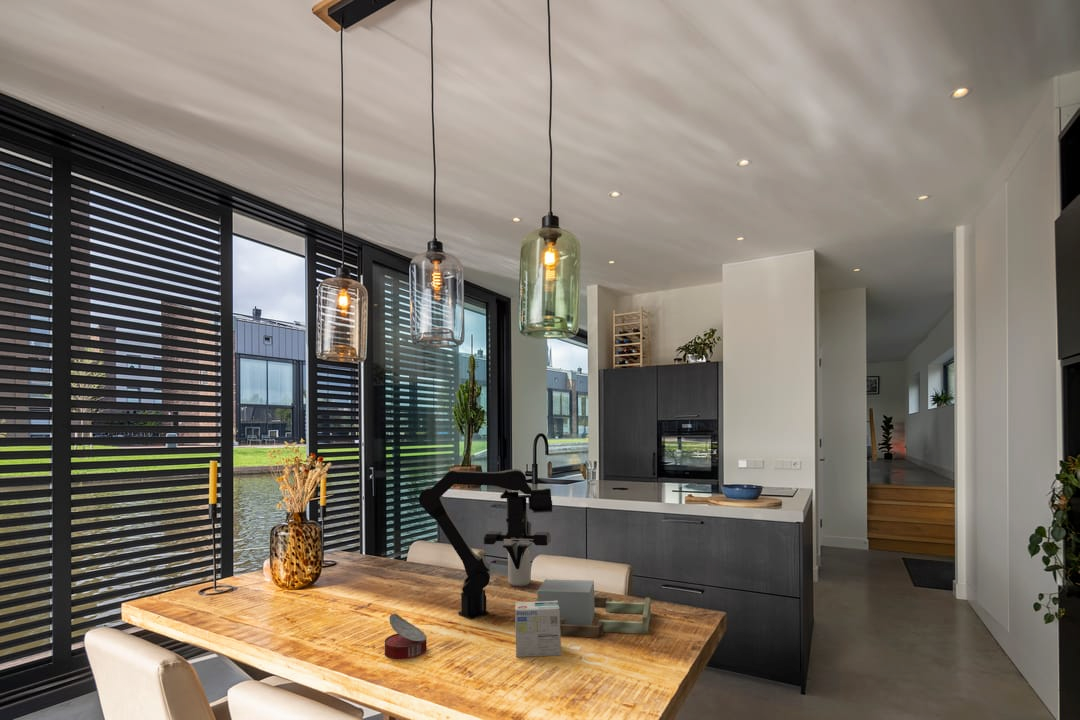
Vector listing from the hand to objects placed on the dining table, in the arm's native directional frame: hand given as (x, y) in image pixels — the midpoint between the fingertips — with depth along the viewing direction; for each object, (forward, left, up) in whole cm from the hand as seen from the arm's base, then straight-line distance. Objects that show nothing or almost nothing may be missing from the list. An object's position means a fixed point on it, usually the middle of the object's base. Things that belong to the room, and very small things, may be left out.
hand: (517, 568), depth 174 cm
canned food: (-38, -3, -12) cm, 40 cm away
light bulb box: (-16, -26, -12) cm, 33 cm away
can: (+20, +23, -12) cm, 33 cm away
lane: (+9, -20, -12) cm, 25 cm away
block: (+5, -14, -12) cm, 19 cm away
